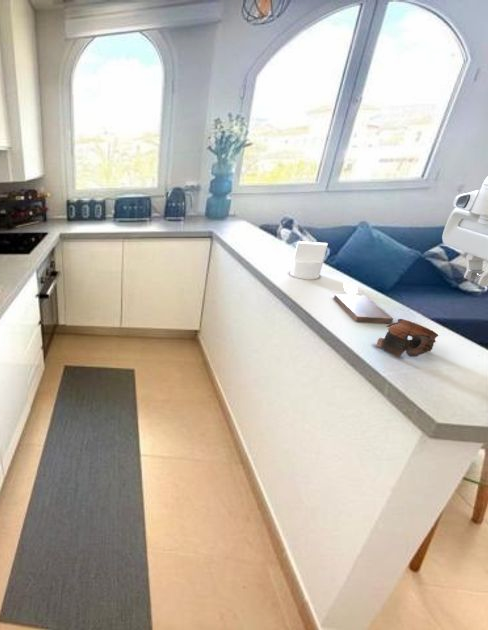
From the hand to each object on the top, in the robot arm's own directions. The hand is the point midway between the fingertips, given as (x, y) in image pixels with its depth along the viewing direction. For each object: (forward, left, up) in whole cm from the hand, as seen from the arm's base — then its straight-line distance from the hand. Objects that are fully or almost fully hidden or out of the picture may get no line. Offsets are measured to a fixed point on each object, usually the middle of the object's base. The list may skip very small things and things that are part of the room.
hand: (476, 282), depth 62 cm
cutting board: (0, -33, -21) cm, 39 cm away
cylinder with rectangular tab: (+6, -63, -21) cm, 67 cm away
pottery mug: (0, -10, -21) cm, 24 cm away
